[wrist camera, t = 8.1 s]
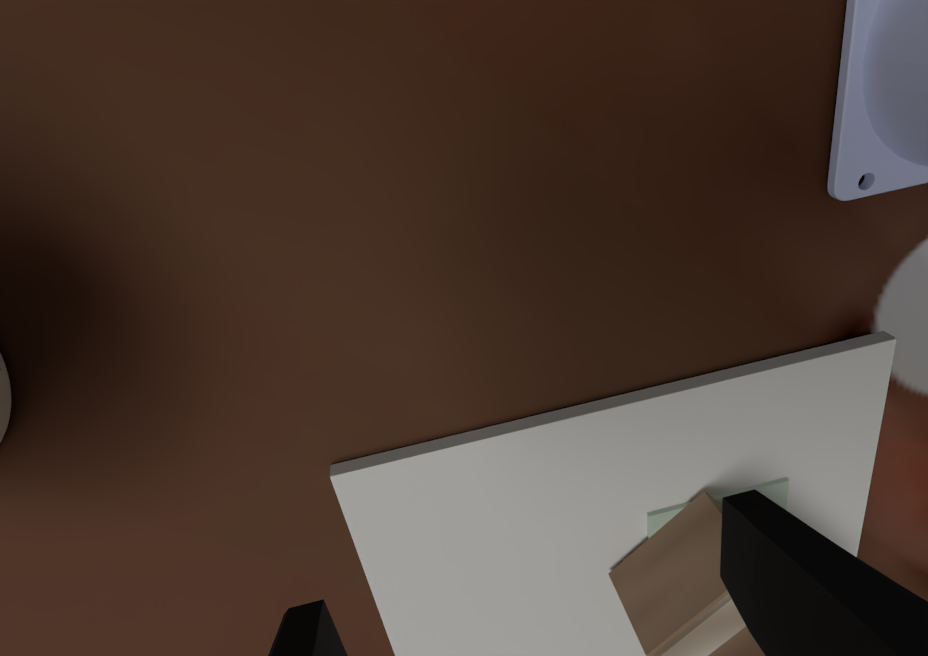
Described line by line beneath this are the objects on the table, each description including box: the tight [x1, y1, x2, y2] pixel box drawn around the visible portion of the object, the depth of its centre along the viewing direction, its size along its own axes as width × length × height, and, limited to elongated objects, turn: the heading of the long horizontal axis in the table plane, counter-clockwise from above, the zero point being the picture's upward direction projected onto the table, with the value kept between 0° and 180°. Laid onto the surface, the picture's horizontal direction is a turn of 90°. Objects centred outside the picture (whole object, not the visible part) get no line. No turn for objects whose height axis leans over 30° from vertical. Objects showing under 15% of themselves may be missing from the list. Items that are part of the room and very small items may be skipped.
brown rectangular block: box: [608, 491, 765, 656], centre depth 23 cm, size 8×5×4 cm, turn 49°
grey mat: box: [330, 331, 897, 656], centre depth 24 cm, size 20×15×1 cm
